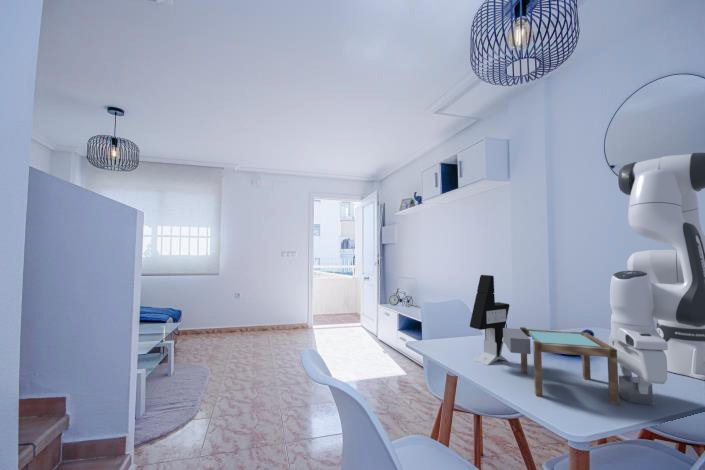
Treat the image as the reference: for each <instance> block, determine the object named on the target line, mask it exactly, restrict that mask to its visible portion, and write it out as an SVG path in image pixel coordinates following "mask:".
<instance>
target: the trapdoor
mask: <svg viewBox="0 0 705 470" xmlns="http://www.w3.org/2000/svg"><path fill="white" fill-rule="evenodd" d="M529 335H530V336H531V337H527V336H526V335H525V333H524V332H523V331H522V330H521V329H520V328H509V327H505V328H503V339H502V341H504V342H503V344H505V345H506V348H507V349H508V351H509V352H510V353H512V354H521V353H522V354H527V355H531V354H532V353H531V352H532V351H531V339H530V338H532V339H533V341H540V342H541V343H547V344H561V345H576V346H590V347H601V346H599V345H598V344H596V343H594V342H593V341H591V340H590V339H588V338H586V337H585V336H583V335H581V334H573V333H557V332H540V331H529Z"/></svg>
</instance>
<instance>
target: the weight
mask: <svg viewBox="0 0 705 470" xmlns="http://www.w3.org/2000/svg"><path fill="white" fill-rule="evenodd" d="M638 382H639V380H638V377H637V376H632V377H631V376H623V375H619V374H618V388H619V396H621V397H622V398H623V399H625V400H626V401H627V402H628V403H631V404H632V403H633V404H638V405H647V406H654V396H653V395H654V394H653V383H650V385H649V387H648V394H641V393H639V392H638V391H637V387H636V384H638Z"/></svg>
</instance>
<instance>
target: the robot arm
mask: <svg viewBox="0 0 705 470" xmlns="http://www.w3.org/2000/svg"><path fill="white" fill-rule="evenodd" d="M617 185H618V188H619V190H620V192H621V193H623V194H625V195H627V196H629V202H628V211H627V219H628V225H629V227H630V228H631V230H632V231H633V232H634V233H636V234H637V235H639V236H641V237H643V238H645V239H648V240H651V241H656V242H659V243H663V244H666V245H669V246H671V247H673V248H674V249H648V250H647V249H646V250H641V251H635V252H633V253H631V254H630V256H629V257H628V258H627V262H626V268H627V270H622V271H617V272H615V273H613V274H612V276H611V279H610V283H609V285H610V286H609V305H610V306H609V307H611V311H612V313H611V317H610V332H611V333H610V334H609V335H608V345H609V346H611V347H613V348H615V349H616V350H617V364H619V367H620V370H621V373H622V376H631V377H633V374H635V375H636V377H638V380H639V382H638V384H636V387H637V391H638V392H639V393H641V394H648V387H649V385H650V383H651V384H654V385H655V384H659V385H663V384H666V382H667V380H668V372H670V373H673V374H674V373H675V374H677V375H681V376H682V375H683V376H687V377H692V378H694V379H699V380H703V381H705V235H704V233H703V229H702V227H701V222H700V213H699V203H698V202H699V201H698V196H697V193H698V192H700V191H702V190H703V189H705V152H693V153H690V154H689V153H687V154H685V153H684V154H673V155H666V156H665V155H664V156H662V157H657V158H651V159H647V160H643V161H639V162H638V161H635V162H631V163H627V164H625V165H623V166H622V167H621V168H620V170H619V171H618V175H617ZM654 320H657V322H655V321H654ZM632 373H633V374H632Z"/></svg>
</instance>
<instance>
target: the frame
mask: <svg viewBox="0 0 705 470" xmlns="http://www.w3.org/2000/svg"><path fill="white" fill-rule="evenodd" d="M519 329H521V330H522V331H523V332H524V333H525V335H526V336H527V337H528V338H532V337H531V336H530V335H529V331H540V332H557V333H573V334H581V335H583V336H585V337H586V338H588V339H590V340H591V341H593V342H594V343H596V344H598V345H599V346H601V347H590V346H576V345H561V344H547V343H541V342H540V341H535V340H532V341H533V342H532V343H533V344H532V345H533V371H534V372H533V373H534V375H533V377H534V394H535V396H536V397H544V395H543V394H544V393H543V391H544V390H543V369H542V368H543V365H542V361H543V360H542V353H546V354H547V353H548V354H561V355H563V354H564V355H574V356H576V355H577V356H581V361H582V362H581V363H582V378H583V379H584V380H588V381H591V380H592V379H591V361H590V360H591V357H592V356H593V357H599V358H601V357H602V358H607V377H608V378H607V379H608V383H607V384H608V401H609V403H610V404H612V405H617V406H619V405H620V395H619V371H618V370H619V369H618V365H619V364H618V362H617V350H616V349H615V348H613V347H611V346H609V343H608V344H607V343H606V342H604V341H602V340H601V339H598V338H597V337H595V336H594V335H591V334H590V333H588V332H582V331H561V330H546V329H543V330H542V329H531V328H530V329H529V328H526V327H525V326H524V327H523V326H522V327H521V326H520V327H519ZM520 366H521V367H520V368H521V369H520V372H521V374H524V375H525V374H526V375H527V374H529V373H528V354H522V353H520Z"/></svg>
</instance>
